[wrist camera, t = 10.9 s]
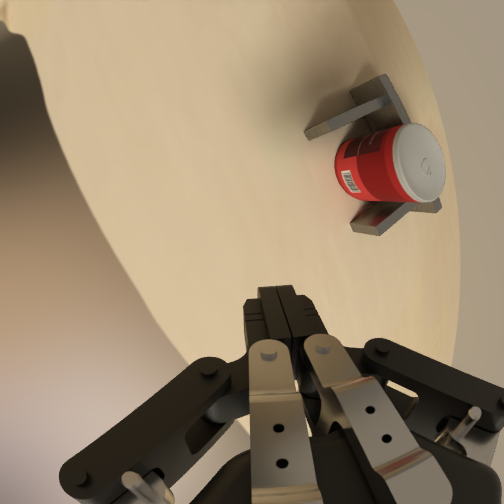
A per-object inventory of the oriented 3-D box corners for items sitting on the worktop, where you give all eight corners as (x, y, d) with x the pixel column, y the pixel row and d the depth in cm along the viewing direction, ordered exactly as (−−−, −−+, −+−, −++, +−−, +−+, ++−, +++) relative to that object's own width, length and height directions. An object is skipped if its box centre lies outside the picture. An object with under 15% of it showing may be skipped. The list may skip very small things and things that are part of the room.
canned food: (375, 209, 34) (440, 213, 23) (325, 187, 31) (390, 183, 21) (385, 155, 33) (449, 146, 23) (339, 129, 31) (401, 107, 20)
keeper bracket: (359, 247, 34) (391, 255, 28) (293, 114, 29) (319, 97, 23) (410, 205, 36) (442, 207, 30) (357, 88, 31) (386, 73, 25)
